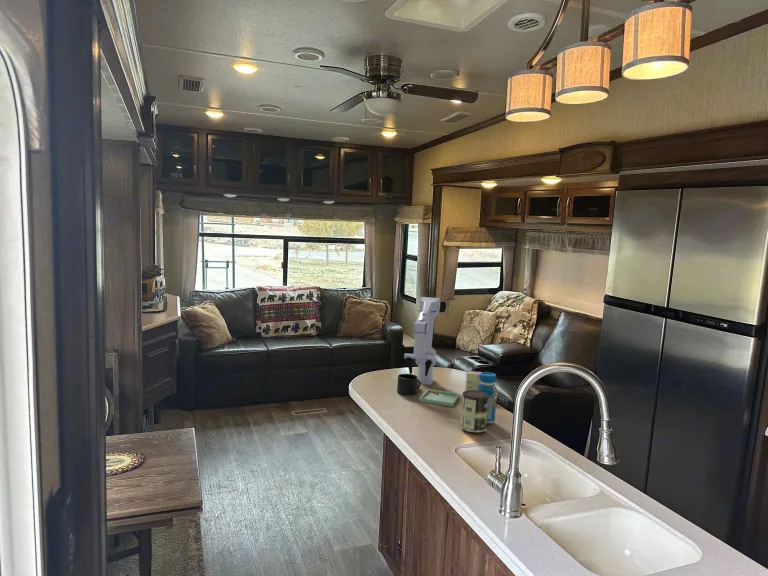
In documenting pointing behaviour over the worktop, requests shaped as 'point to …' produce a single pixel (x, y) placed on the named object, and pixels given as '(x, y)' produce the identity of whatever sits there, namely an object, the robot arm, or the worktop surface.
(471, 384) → the box
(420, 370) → the robot arm
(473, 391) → the coffee can
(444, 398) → the tray
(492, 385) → the beverage bottle
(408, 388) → the mug
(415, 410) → the worktop surface
